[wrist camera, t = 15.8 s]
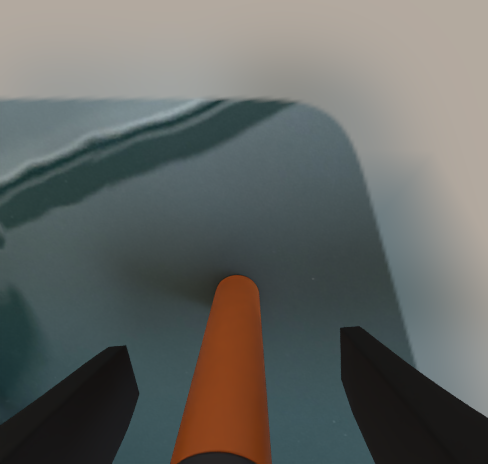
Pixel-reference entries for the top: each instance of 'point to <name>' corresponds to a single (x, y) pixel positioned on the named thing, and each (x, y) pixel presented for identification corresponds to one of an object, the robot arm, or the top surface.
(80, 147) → the top surface
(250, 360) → the marker
